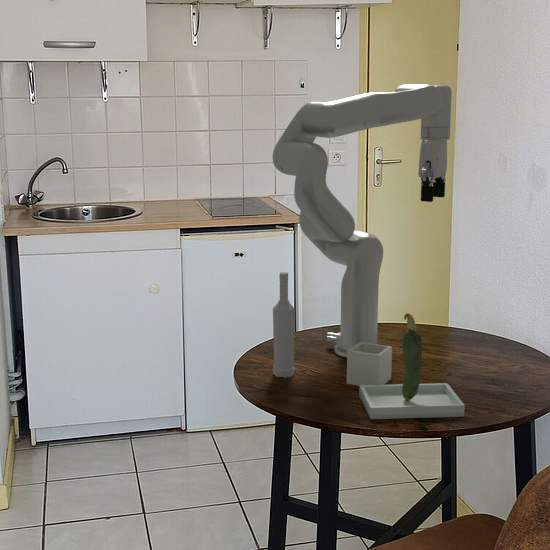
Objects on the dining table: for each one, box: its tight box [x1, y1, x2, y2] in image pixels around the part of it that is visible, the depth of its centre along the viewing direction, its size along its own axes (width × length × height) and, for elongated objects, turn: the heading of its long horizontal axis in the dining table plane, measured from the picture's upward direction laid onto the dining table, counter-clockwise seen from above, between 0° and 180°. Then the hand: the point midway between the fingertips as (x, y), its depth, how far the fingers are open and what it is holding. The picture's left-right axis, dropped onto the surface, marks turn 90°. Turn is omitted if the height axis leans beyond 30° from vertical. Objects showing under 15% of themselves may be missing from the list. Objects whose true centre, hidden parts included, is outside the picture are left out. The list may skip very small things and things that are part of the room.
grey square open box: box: [346, 342, 393, 387], centre depth 213 cm, size 8×8×8 cm
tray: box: [358, 382, 466, 420], centre depth 198 cm, size 20×14×2 cm
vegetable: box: [401, 312, 423, 401], centre depth 196 cm, size 4×4×20 cm
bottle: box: [272, 271, 296, 379], centre depth 216 cm, size 5×5×25 cm
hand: (432, 199), depth 240 cm, fingers open, 9 cm apart
